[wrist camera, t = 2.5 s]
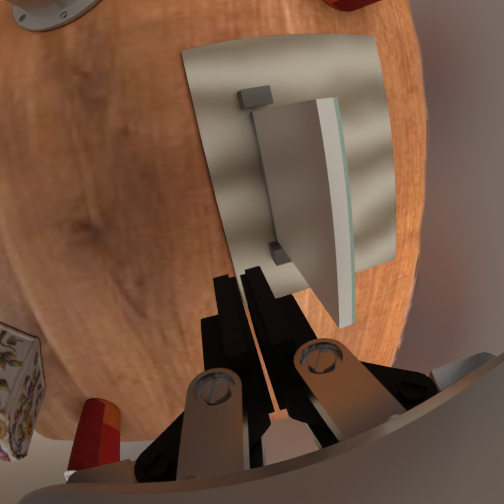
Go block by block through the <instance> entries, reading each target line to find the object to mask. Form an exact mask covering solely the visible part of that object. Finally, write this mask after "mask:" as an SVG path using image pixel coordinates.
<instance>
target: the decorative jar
mask: <svg viewBox="0 0 504 504" xmlns="http://www.w3.org/2000/svg"><path fill="white" fill-rule="evenodd" d="M45 389H46V386H45V381H44V375H43V367H42V359H41V353H40V340H39V339H38V338H35V337H32V336H30V335H27V334H25V333H23V332H20V331H18V330H16V329H13V328H11V327H9V326H7V325H5V324H2V323H0V460H3V461H14V462H16V461H19V460H20V459H23V458H24V457H26V456H27V452H28V448H29V445H30V442H31V438H32V435H33V431H34V427H35V423H36V420H37V417H38V413H39V410H40V407H41V404H42V400H43V397H44V393H45Z"/></svg>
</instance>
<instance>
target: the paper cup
mask: <svg viewBox="0 0 504 504" xmlns="http://www.w3.org/2000/svg"><path fill="white" fill-rule="evenodd" d="M323 1H324V2H326V3H327V4H328V5H330V6H331V7H333V8H335V9H338V10H341V11H353V10H357V9H359V8H362V7H365V6H367V5H370V4H373V3H375V2H378V1H381V0H323Z"/></svg>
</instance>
